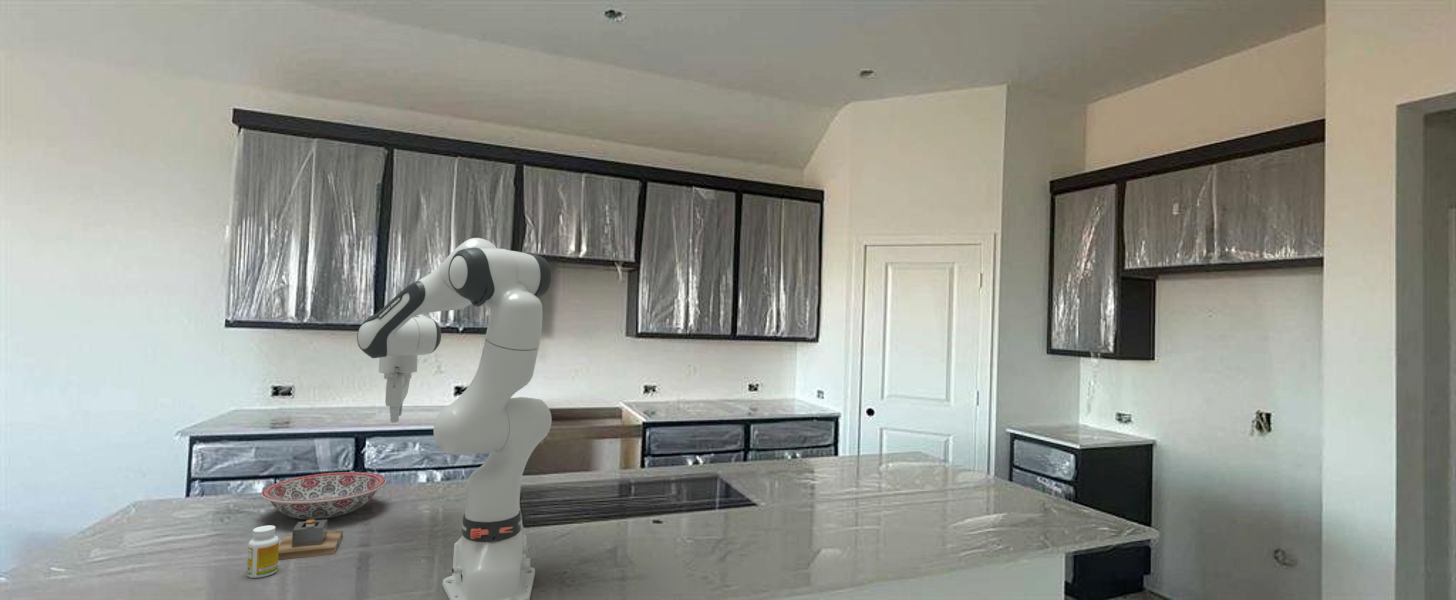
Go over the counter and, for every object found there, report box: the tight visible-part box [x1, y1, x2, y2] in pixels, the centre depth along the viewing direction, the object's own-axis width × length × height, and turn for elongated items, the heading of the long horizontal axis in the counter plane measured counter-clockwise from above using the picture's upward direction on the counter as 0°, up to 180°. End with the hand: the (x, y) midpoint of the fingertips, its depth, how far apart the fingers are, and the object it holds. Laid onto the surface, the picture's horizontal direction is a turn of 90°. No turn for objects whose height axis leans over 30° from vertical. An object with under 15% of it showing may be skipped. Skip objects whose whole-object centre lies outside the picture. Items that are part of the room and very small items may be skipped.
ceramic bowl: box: [260, 471, 387, 520], centre depth 176 cm, size 29×29×8 cm
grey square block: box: [291, 519, 328, 547], centre depth 152 cm, size 6×6×4 cm
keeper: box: [278, 519, 344, 561], centre depth 152 cm, size 12×12×6 cm
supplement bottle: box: [246, 524, 280, 579], centre depth 138 cm, size 5×5×10 cm
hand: (396, 418), depth 165 cm, fingers open, 8 cm apart
